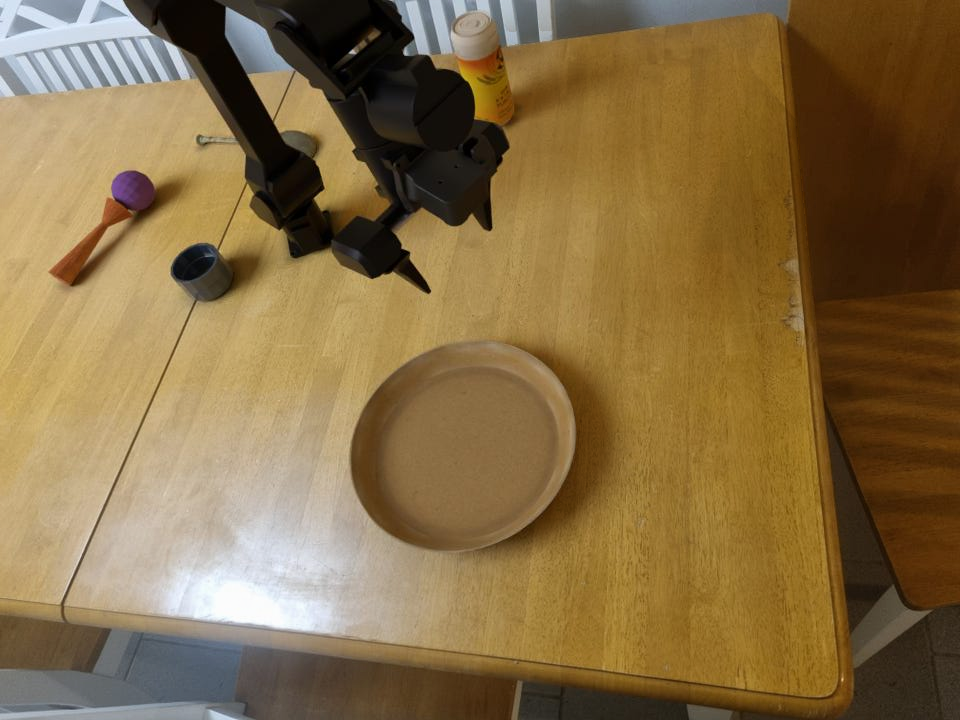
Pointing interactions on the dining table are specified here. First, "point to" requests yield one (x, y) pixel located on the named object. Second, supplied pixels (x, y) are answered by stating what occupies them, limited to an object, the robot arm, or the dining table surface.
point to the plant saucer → (462, 446)
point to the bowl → (202, 272)
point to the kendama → (108, 220)
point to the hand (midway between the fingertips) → (458, 260)
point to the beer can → (483, 65)
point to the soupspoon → (290, 137)
